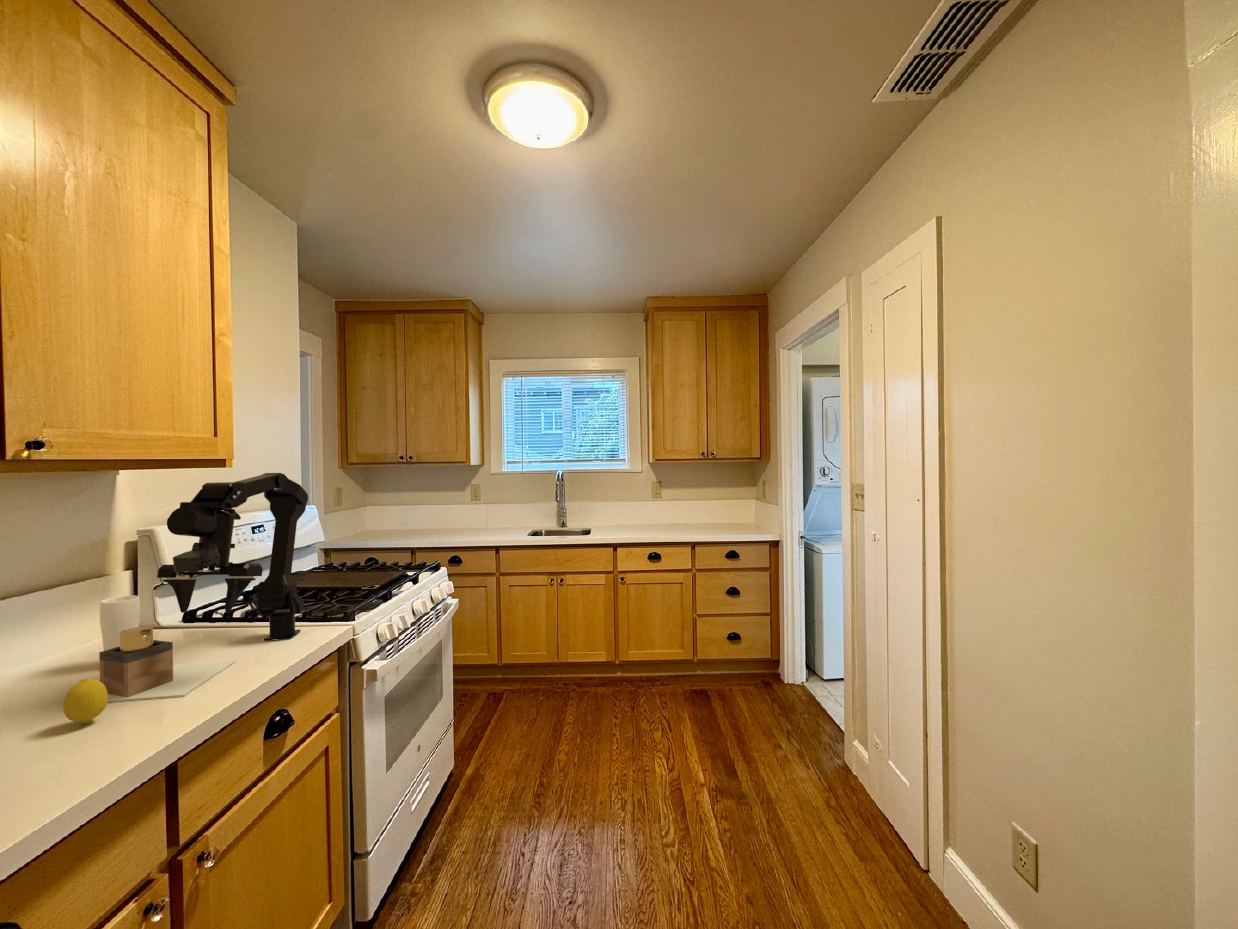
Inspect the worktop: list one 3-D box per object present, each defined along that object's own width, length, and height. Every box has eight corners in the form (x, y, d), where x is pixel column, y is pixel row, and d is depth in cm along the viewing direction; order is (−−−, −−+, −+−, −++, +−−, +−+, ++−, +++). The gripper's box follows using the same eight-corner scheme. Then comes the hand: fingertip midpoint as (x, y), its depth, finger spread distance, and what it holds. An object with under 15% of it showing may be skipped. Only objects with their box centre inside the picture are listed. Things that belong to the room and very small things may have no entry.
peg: (142, 661, 110) (142, 625, 110) (159, 663, 109) (159, 627, 109) (114, 670, 105) (113, 632, 105) (131, 672, 104) (130, 634, 104)
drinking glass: (95, 666, 119) (94, 600, 119) (133, 656, 125) (132, 594, 125) (108, 671, 116) (106, 604, 116) (146, 661, 122) (145, 597, 122)
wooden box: (146, 678, 112) (145, 639, 112) (173, 682, 110) (172, 642, 110) (100, 694, 104) (99, 652, 104) (128, 699, 102) (127, 655, 102)
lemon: (56, 734, 89) (55, 687, 89) (74, 720, 94) (73, 675, 94) (98, 727, 91) (98, 681, 91) (114, 713, 96) (113, 670, 96)
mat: (147, 668, 118) (147, 666, 118) (235, 662, 121) (235, 660, 121) (78, 704, 100) (78, 702, 100) (183, 696, 103) (183, 694, 103)
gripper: (140, 536, 107) (127, 616, 104) (233, 535, 108) (223, 614, 105) (183, 540, 118) (172, 612, 115) (267, 538, 119) (259, 610, 116)
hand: (205, 612), depth 112 cm, fingers open, 9 cm apart
